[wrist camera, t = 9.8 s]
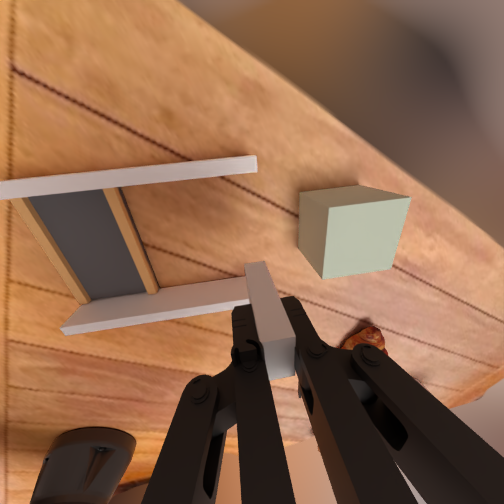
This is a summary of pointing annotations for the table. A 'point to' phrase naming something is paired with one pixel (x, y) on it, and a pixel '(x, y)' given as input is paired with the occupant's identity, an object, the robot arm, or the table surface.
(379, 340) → the croissant
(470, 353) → the table surface
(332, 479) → the robot arm
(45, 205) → the drawer
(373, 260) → the block
